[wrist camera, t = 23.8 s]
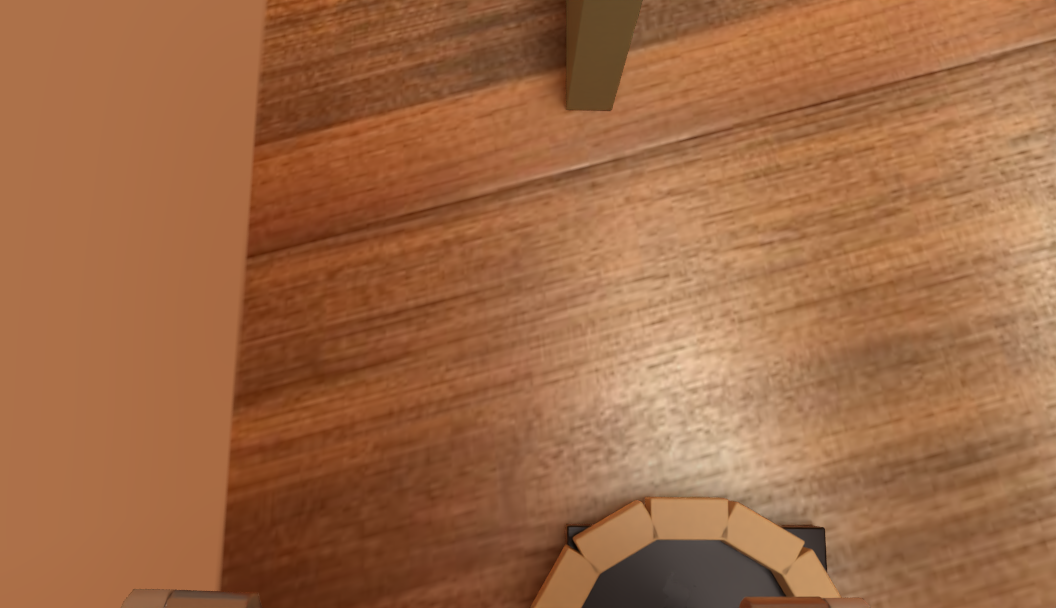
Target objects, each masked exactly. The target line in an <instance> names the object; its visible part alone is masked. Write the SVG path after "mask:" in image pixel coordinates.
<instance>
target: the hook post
mask: <svg viewBox="0 0 1056 608" xmlns="http://www.w3.org/2000/svg"><path fill="white" fill-rule="evenodd" d="M592 525H594V524H566V525H565V545H568V546H570V547H572V548H573V549H575V550H577V551H578V552H580V551H579V550H578V548H577V546H576V544H575V543H574V541H573V537H574V536H575V535H577V534H579V533H580V532H582V531H584V530H586V529H587V528H589V527H591V526H592ZM778 526H780V527H781V528H783V529H785V530H786V531H788V532H790V533H792V534H793V535H795V536H797V537H798V538H800V539H802V540H803V541H804V542H805V543H804V545H803V547H805V548H809V549H812V550H813V551H814V553H815V554H816V556H817V558H818V559H819V561H820V562H821V564H822V566H823V567H824V569H825V571H826V572H827V562H826V542H825V529H824V528H823V527H818V526H793V525H778ZM745 597H786V595H785V593H784V592H783V590H782V588H781V587H780V585H779V583H778V582H777V580H776V578H775V577H774V575H773V573H772V572H771V570H769V569H767V568H766V567H764V566H762V565H760V564H759V563H757V562H755V561H754V560H752V559H750V558H749V557H747V556H745V555H744V554H742V553H740V552H739V551H737V550H735V549H733V548H732V547H730V546H728V545H727V544H725V543H723V542H722V541H720V540H656V541H654V542H653V543H651V544H649V545H648V546H646V547H644V548H643V549H641V550H639V551H638V552H636V553H634V554H633V555H631V556H629V557H628V558H626V559H624V560H622V561H621V562H619V563H617V564H616V565H614V566H612V567H611V568H609V569H607V570H606V571H604V572H602V573H601V574H600V575H599V577H598V579H597V581H596V582H595V584H594V586H593V588H592V590H591V591H590V593H589V595H588V597H587V599H586V601H585V602H584V604H583V606H582V608H739V606H740V602H741V601H742V600H743V599H744V598H745Z"/></svg>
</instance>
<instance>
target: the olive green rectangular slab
mask: <svg viewBox="0 0 1056 608" xmlns="http://www.w3.org/2000/svg"><path fill="white" fill-rule="evenodd" d="M642 1H643V0H566V109H567V110H612V108H613V104H614V100H615V97H616V93H617V90H618V86H619V83H620V79H621V76H622V72H623V69H624V65H625V61H626V58H627V54H628V51H629V47H630V44H631V40H632V37H633V33H634V29H635V26H636V22H637V19H638V15H639V12H640V8H641V5H642Z"/></svg>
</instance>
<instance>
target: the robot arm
mask: <svg viewBox="0 0 1056 608" xmlns="http://www.w3.org/2000/svg"><path fill="white" fill-rule="evenodd" d="M121 608H262V605H261V602H260V598H259V594H258V593H257V592H224V591H191V590H160V589H134V590H133V591H132V592H131V593H130V594H129V596H128V597H127V598H126V600H125V601H124V602H123V604H122V606H121ZM739 608H870V606H869V605H868V603H867V602H866V601H865V600H864V599H862V598H821V597H819V596H818V597H745V598H744V599H743V600H742V601H741V602H740V606H739Z"/></svg>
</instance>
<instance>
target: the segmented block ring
mask: <svg viewBox="0 0 1056 608" xmlns="http://www.w3.org/2000/svg"><path fill="white" fill-rule="evenodd" d="M656 540H720V541H722V542H723V543H725V544H727V545H728V546H730V547H732V548H733V549H735V550H737V551H739V552H740V553H742V554H744V555H745V556H747V557H749V558H750V559H752V560H754V561H755V562H757V563H759V564H760V565H762V566H764V567H766V568H767V569H769V570H771V572H772V573H773V575H774V577H775V578H776V580H777V582H778V583H779V585H780V587H781V588H782V590H783V592H784V593H785V595H786V597H818V596H819V597H821V598H842V597H841V596H840V594H839V592H838V591H837V589H836V587H835V586H834V584H833V582H832V581H831V579H830V577H829V576H828V574H827V572H826V571H825V569H824V567H823V566H822V564H821V562H820V561H819V559H818V558H817V556H816V554H815V553H814V551H813V550H812V549H809V548H805V547H803V545H804V543H805V542H804V541H803V540H802V539H800V538H798V537H797V536H795V535H793V534H792V533H790V532H788V531H786V530H785V529H783V528H781V527H780V526H778V525H776V524H775V523H773V522H771V521H769V520H768V519H766V518H764V517H763V516H761V515H759V514H758V513H756V512H754V511H752V510H751V509H749V508H747V507H746V506H744V505H742V504H740V503H739V502H734V501H728V499H725V498H710V497H645V506H644V504H643V502H641V501H638V500H635V501H633V502H631V503H630V504H628V505H626V506H624V507H623V508H621V509H619V510H618V511H616V512H614V513H613V514H611V515H609V516H608V517H606V518H604V519H602V520H601V521H599V522H597V523H596V524H594V525H592V526H591V527H589V528H587V529H586V530H584V531H582V532H580V533H579V534H577V535H575V536H574V537H573V541H574V543H575V544H576V546H577V548H578V550H579V551H580V552H578V551H577V550H575V549H573V548H572V547H570V546H568V545H565V546H564V548H563V550H562V551H561V553H560V555H559V557H558V559H557V560H556V562H555V564H554V566H553V567H552V569H551V571H550V573H549V575H548V576H547V578H546V580H545V582H544V584H543V585H542V587H541V589H540V591H539V592H538V594H537V596H536V598H535V600H534V601H533V603H532V605H531V607H530V608H582V606H583V604H584V602H585V601H586V599H587V597H588V595H589V593H590V591H591V590H592V588H593V586H594V584H595V582H596V581H597V579H598V577H599V575H600V574H601V573H602V572H604V571H606V570H607V569H609V568H611V567H612V566H614V565H616V564H617V563H619V562H621V561H622V560H624V559H626V558H628V557H629V556H631V555H633V554H634V553H636V552H638V551H639V550H641V549H643V548H644V547H646V546H648V545H649V544H651V543H653V542H654V541H656Z"/></svg>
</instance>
